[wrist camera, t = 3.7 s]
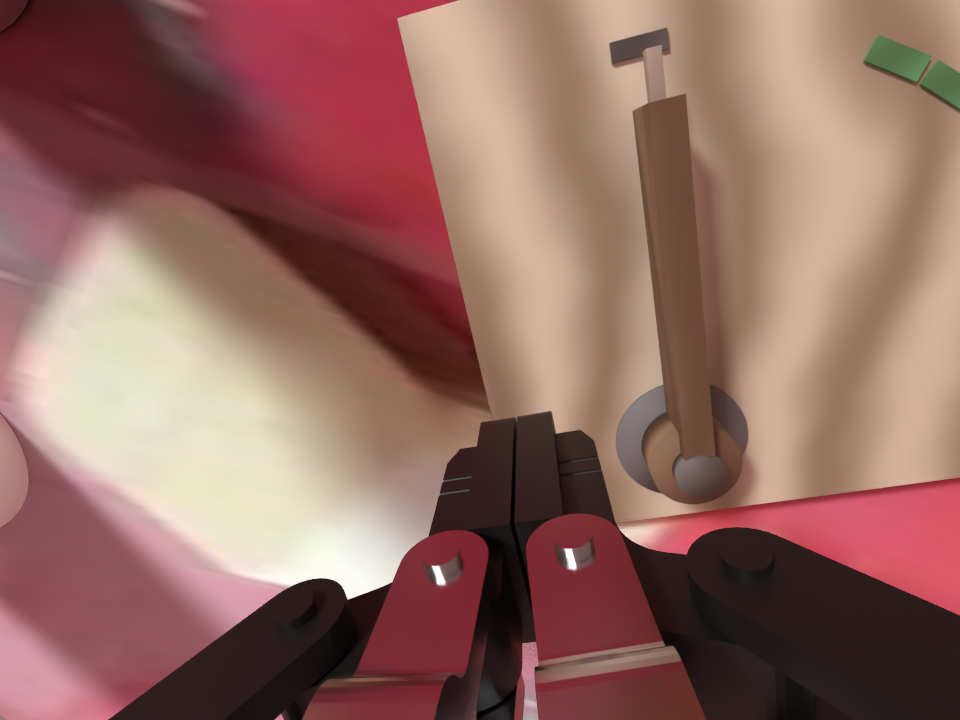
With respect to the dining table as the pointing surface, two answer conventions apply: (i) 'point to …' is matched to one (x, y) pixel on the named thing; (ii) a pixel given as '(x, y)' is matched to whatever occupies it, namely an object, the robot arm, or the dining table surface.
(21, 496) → the canister
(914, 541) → the dining table surface
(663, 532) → the dining table surface
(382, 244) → the dining table surface
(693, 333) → the dial lever
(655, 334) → the dial board
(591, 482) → the robot arm
